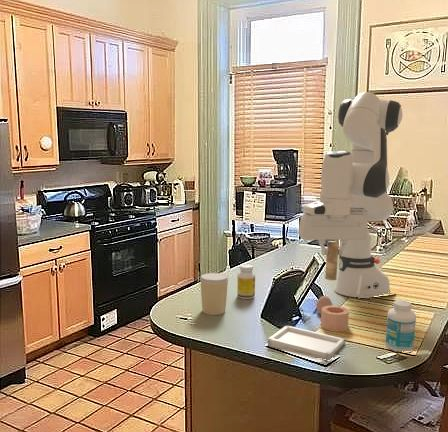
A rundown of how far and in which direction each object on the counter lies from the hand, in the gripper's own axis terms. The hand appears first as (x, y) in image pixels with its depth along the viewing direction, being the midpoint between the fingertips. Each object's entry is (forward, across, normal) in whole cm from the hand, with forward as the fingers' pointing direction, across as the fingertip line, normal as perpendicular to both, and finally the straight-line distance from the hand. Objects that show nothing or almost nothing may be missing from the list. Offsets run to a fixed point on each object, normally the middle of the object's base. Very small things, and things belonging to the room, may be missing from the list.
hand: (332, 254), depth 146 cm
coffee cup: (+25, +30, -25) cm, 46 cm away
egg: (+24, -5, -14) cm, 29 cm away
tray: (+24, +9, +7) cm, 27 cm away
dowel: (+7, 0, 0) cm, 7 cm away
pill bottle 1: (+24, +16, -38) cm, 47 cm away
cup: (+24, -4, -4) cm, 25 cm away
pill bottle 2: (+24, -16, +14) cm, 32 cm away
